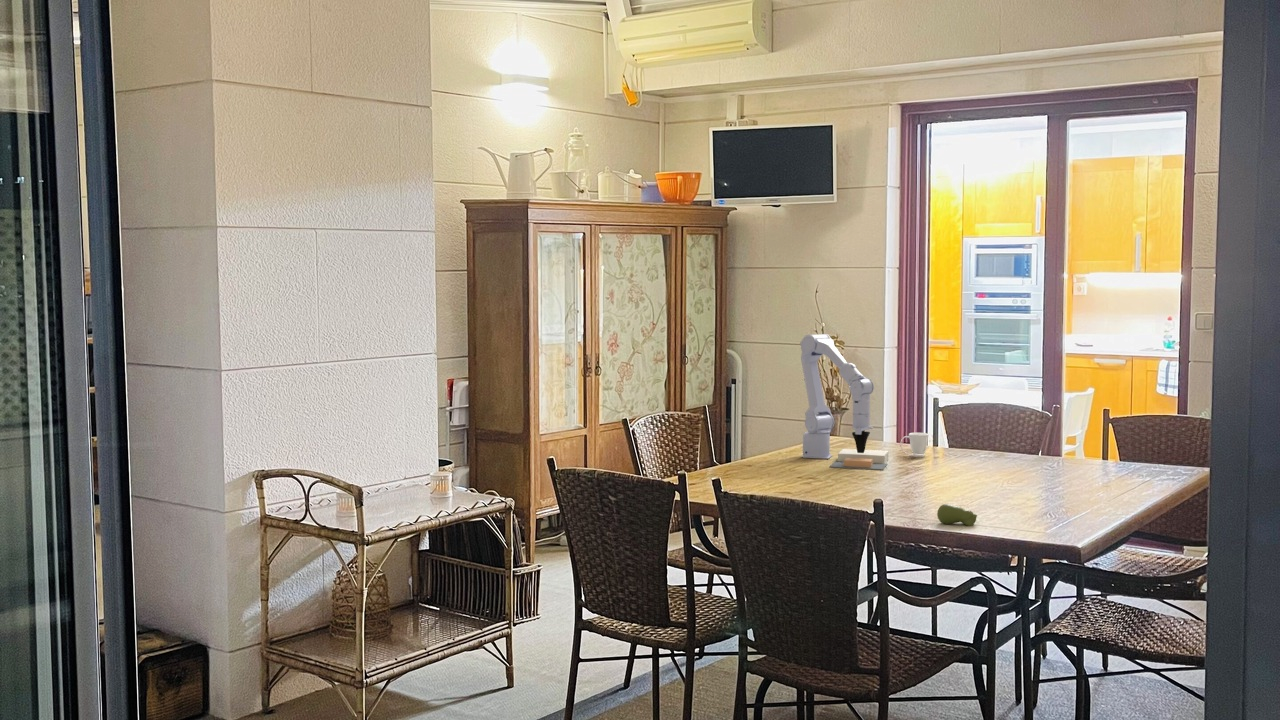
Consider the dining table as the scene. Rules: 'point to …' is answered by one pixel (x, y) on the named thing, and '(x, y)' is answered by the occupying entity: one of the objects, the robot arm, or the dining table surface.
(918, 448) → the cup
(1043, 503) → the dining table surface
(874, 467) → the mat
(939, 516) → the pear
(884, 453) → the cream flat block
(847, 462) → the tile
